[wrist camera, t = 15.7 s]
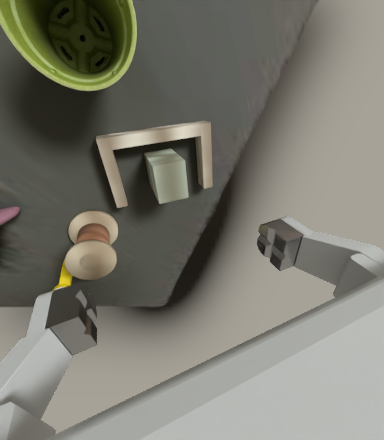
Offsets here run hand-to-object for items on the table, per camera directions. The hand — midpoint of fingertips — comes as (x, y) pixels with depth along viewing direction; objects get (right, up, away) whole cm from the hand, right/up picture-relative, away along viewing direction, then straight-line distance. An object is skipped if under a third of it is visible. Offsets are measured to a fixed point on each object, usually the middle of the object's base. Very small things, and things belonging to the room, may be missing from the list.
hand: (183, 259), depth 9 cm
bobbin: (-15, 0, +24) cm, 28 cm away
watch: (-20, -6, +26) cm, 34 cm away
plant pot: (-11, +21, +13) cm, 27 cm away
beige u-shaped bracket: (-4, +10, +22) cm, 25 cm away
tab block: (-4, +10, +22) cm, 25 cm away
